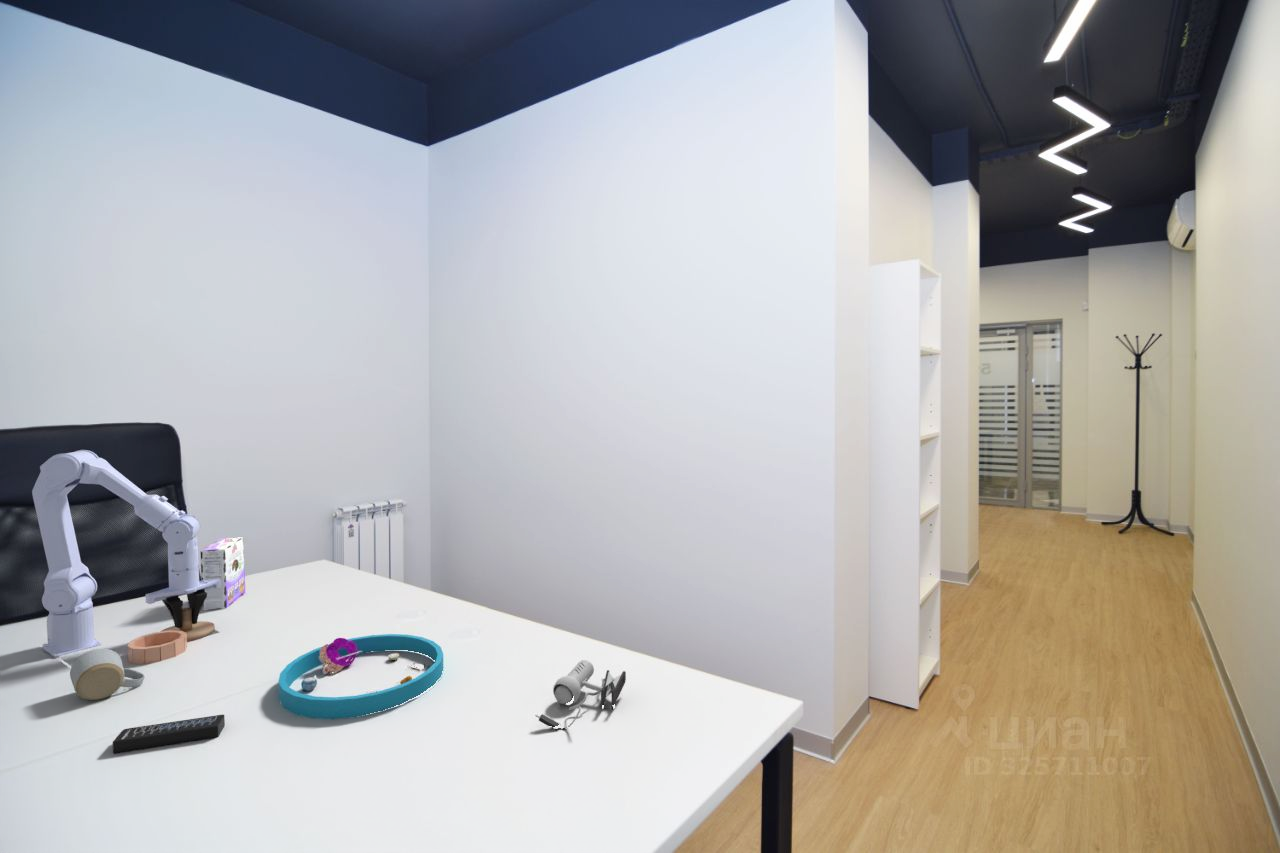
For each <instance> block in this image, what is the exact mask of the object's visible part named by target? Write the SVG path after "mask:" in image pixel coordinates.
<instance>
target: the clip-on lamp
mask: <svg viewBox="0 0 1280 853" xmlns="http://www.w3.org/2000/svg"><path fill="white" fill-rule="evenodd" d="M594 672H595V668H594V664H593V663H592V662H591V661H590V660H587V659H582V660H580V661H579V662H578V663H577V664H576V665H575V666H574V667H573V668H572V669H571V671H570V672H568V674H567V675H565V676H561V677H560V678H558V679H557V680H556V681H555V684H554V685H553V690H552V692H553V695H554V698H555V699H556V701H557V702H558V703H560V704H561V705H563V704H566V703H568V702H570V701H571V700H572V698H573V696H574V701H573V703H574V704H575V703H576V702H578V700H579V698H580V696H581V692H582V688H583V687H585V688H588V689H591V690H594V691H595V692H588V691H587V692H586V693H585V695H584V697H583V699H582V701H581V702H579V703H577V704H575V705H574V706H570V707H568V711H571V710H576V709H578V711H577V713H576V716H575V718H574V719H573V720H572V722H571V723H570V724H569V725H568V727H569V728H570V727H571V726H572V725H573V723H574V722H576V719H577V718H578V717H579V715H580V713H581V706H582V705H583V704H584V703H585V702H586V700H587V697H588V696H597V695H599V694H600V705H604V702H605V703H606V699H607V697H608V696H609V695H611V706H612V705H614V704H615V702H617V701H616V700H618V699H619V697H620V694H621V693H622V691H623V688H624V686H625V684H626V679H627V677H626V676H627V674H626V670H623V671H622V672H621V674H619V675H618V676H616V677H614V676H613V675H612V674H611V672H610V670H609V669H607V670H606V673H605V677H604V678H601V685H600V686H599V685H598V684H594V683H590V682H588V681H589V680H590V679H591V677H592V676H593V675H594ZM535 717H536V718H538V722H541V724H544V725H546V726H548V727H549V726H552V727H555V726H558V725H559V724H560V723H559V722H557V721H555V720H553V719H552V718H550V717H549V716H546V715H544V714H543V713H542V714H541V715H540V714H535Z"/></svg>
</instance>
